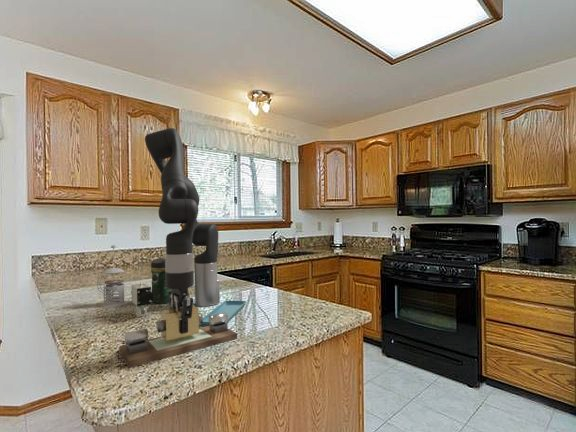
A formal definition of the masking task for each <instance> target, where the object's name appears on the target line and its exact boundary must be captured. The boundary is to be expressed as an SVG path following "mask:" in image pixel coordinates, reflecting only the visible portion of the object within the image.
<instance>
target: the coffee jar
mask: <svg viewBox="0 0 576 432" xmlns="http://www.w3.org/2000/svg"><path fill="white" fill-rule="evenodd" d="M165 261H166V258H156V259H153V260H152V261H151V264H150V271H151V292H153V301H151V303H156V304H169V296H168V292H169V291H172V289H169V288H167V287H166V272H165Z"/></svg>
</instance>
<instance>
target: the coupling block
mask: <svg viewBox="0 0 576 432" xmlns="http://www.w3.org/2000/svg"><path fill="white" fill-rule="evenodd" d="M199 311H200V309H199V307H197V306H196V305H193V308H192V317H191V318H189V319H188V332H187V333H184V334H181V333H180V332H179V312H177V311H176V309H170V308H169V309H164V310H160V318H161V319H160V320H157V321H156V331H157V333H161V334H160V335H161V336H162V337H163V338H164V339H165V340H166V341H169V340H173V339H177V338H181V337H185V336H190V335H194V334H198V333H199V328H200V325H201V323H202V322H203V318H204V317H203V314H202V313H201V312H199ZM185 314H186V312H185ZM161 336H160V337H161Z"/></svg>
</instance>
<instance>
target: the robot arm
mask: <svg viewBox="0 0 576 432" xmlns="http://www.w3.org/2000/svg"><path fill="white" fill-rule="evenodd" d="M144 142H145V146H146V149H147V150H148V152H149V155H150V157H151V158H152V160H153V163H155V166H156V167H157V169H158V170H159V173H160V174H161V175H160V183H161V184H160V185H161V190H162V194H161V195H162V196H161V201H160V203H159V207H158V218H159V219H160V221H161V222H162V223H164V224H168V225H174V224H175V225H177V224H179V225H181V224H184V225H183V227H182V229H180V230H177V231H174V232H170V233H168V234H167V235H166V236H165V237H166V238H165V249H166V250H165V254H166V255H165V259H166V261H165V272H166V287H167V288H169V289H172V291H169V292H168V296H169V303H168V304H169V310H170V309H176V311H177V312H179V332H180V333H181V334H184V333H187V332H188V319H189V318H191V317H192V308H193V306H196V307H197V306H198V307H210V306H215V305H217V304H219V303H220V297H221V295H220V292H221V291H220V279H218V255H219V254H218V253H219V229H218V227H217V225H216V224H214V223H199V222H198V220H197V219H198V215H199V205H200V194H199V193H198V190H197V188H196V186H195V183H194V182H193V180H191V179H190V178H188V177H187V176H185V170H184V169H185V168H184V167H185V163H184V162H185V159H184V158H185V157H184V156H185V155H184V144H183V141H182V138H181V135H180V134H179V133H178V130H177V129H175V128H172V127H170V128H165V129H161V130H158V131H154V132H151V133H147V134H146V135H145V137H144ZM167 159H168V161H167ZM193 246H196V247H205V250H204V251H203V252H201V253H199V254H196V255H195V256H194V255H193ZM193 286H194V298H193V297H191V296H190V293H189V288H191V287H193ZM194 304H195V305H194ZM185 312H186V314H185Z"/></svg>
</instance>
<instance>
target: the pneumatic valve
mask: <svg viewBox="0 0 576 432" xmlns="http://www.w3.org/2000/svg"><path fill="white" fill-rule="evenodd" d="M130 291H131V293H130V294H131V302H132V303H133V304H134V305H135V316H136V317H137V318H140V317H147V316H148V306H147V305H152V301H153V292H152V285H150V284H146V283H142V282H140V283H137V284H131V290H130Z"/></svg>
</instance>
